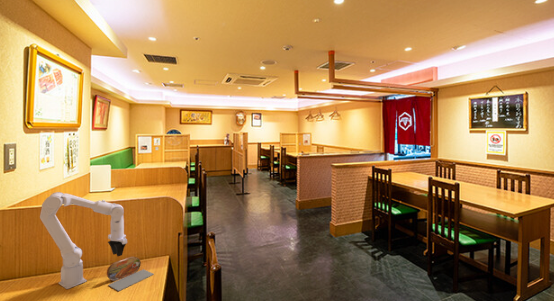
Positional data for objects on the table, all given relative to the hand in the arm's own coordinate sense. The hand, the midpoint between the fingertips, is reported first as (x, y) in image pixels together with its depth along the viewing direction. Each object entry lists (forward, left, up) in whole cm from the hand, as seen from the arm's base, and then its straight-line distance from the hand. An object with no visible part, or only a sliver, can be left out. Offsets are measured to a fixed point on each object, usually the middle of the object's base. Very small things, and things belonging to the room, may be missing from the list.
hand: (117, 254), depth 129 cm
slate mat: (+13, 0, -9) cm, 16 cm away
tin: (+6, 0, -10) cm, 11 cm away
